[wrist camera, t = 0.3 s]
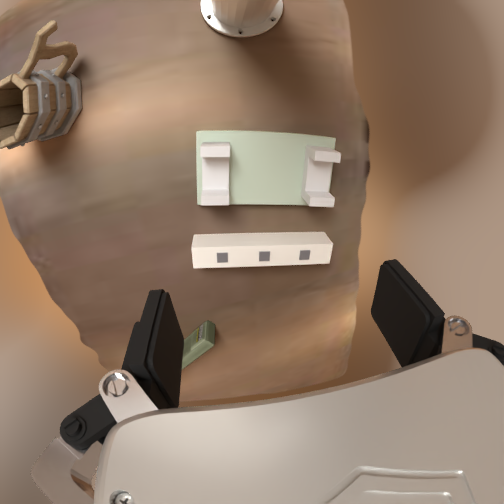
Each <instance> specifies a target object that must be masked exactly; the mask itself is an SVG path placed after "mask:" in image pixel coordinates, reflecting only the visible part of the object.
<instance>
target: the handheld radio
mask: <svg viewBox="0 0 504 504" xmlns="http://www.w3.org/2000/svg"><path fill="white" fill-rule="evenodd" d="M214 345H215V324H214V323H212V322H211V321H206V322H204V323H203V324H202V325H201V326H200V327H198V328H197V329H196V330H195V331H194V332H193V333H192V334H191V335H189V336H188V337H187V338H186V339H185V340H184V350H183V360H182V369H183V368H185V367H186V366H188V365H189V364H190V363H192V362H193V361H194V360H196V359H197V358H198V357H200V356H201V355H202V354H204V353H205V352H206V351H208V350H209V349H210V348H212V347H213V346H214Z"/></svg>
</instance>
